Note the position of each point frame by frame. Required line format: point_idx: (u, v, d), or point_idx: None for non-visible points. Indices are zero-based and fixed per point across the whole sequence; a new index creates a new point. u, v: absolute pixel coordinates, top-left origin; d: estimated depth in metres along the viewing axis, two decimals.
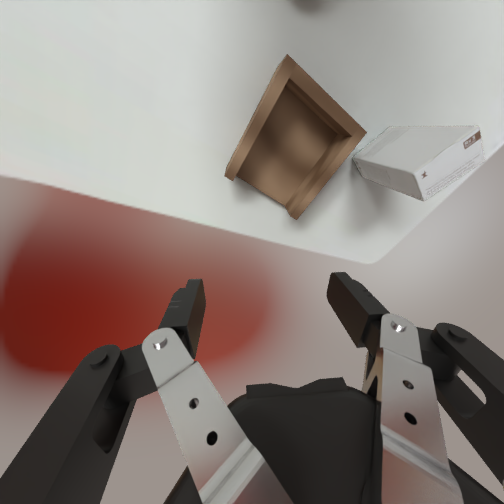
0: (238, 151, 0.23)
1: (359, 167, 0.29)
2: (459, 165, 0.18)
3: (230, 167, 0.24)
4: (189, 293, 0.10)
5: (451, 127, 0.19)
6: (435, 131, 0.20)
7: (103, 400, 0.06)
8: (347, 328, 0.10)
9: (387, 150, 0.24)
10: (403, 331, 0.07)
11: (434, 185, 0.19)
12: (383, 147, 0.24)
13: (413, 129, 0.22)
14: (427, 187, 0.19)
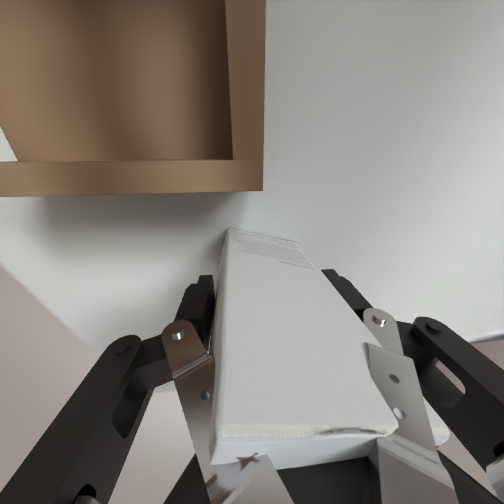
0: None
1: (222, 251, 0.14)
2: None
3: None
4: (201, 288, 0.10)
5: None
6: (348, 320, 0.08)
7: (123, 388, 0.06)
8: None
9: (264, 265, 0.10)
10: (383, 324, 0.08)
11: None
12: (267, 256, 0.11)
13: (319, 276, 0.10)
14: None
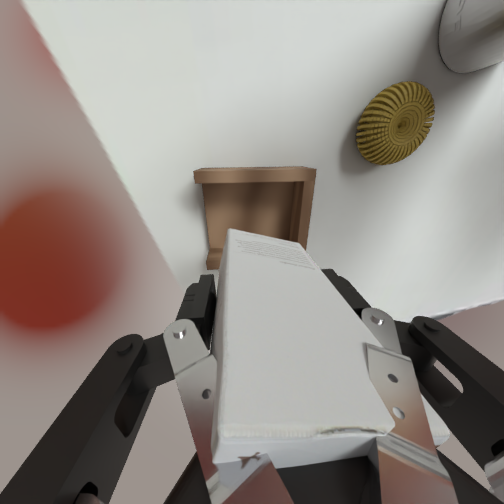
0: (226, 172, 0.20)
1: (223, 252, 0.14)
2: None
3: (206, 172, 0.20)
4: (203, 287, 0.10)
5: None
6: (349, 320, 0.08)
7: (125, 386, 0.06)
8: None
9: (265, 265, 0.10)
10: (381, 324, 0.08)
11: None
12: (267, 256, 0.11)
13: (319, 276, 0.10)
14: None
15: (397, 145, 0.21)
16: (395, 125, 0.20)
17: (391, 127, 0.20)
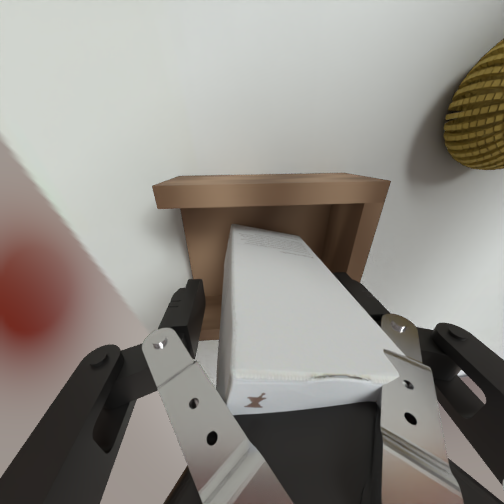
0: (217, 187, 0.10)
1: (227, 246, 0.15)
2: None
3: (178, 188, 0.10)
4: (189, 293, 0.10)
5: (370, 320, 0.07)
6: (343, 299, 0.08)
7: (103, 400, 0.06)
8: None
9: (266, 255, 0.11)
10: (403, 331, 0.07)
11: None
12: (269, 247, 0.12)
13: (317, 264, 0.11)
14: None
15: None
16: None
17: None
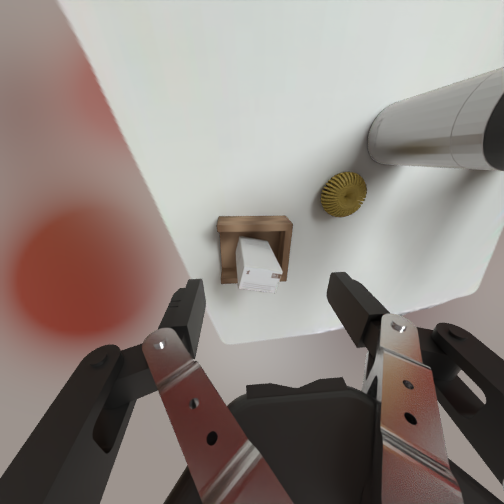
0: (237, 225, 0.32)
1: (237, 244, 0.37)
2: (264, 283, 0.28)
3: (224, 226, 0.32)
4: (189, 293, 0.10)
5: (277, 263, 0.30)
6: (272, 259, 0.30)
7: (103, 400, 0.06)
8: (347, 328, 0.10)
9: (252, 247, 0.33)
10: (403, 331, 0.07)
11: (248, 283, 0.28)
12: (253, 245, 0.34)
13: (270, 251, 0.33)
14: (244, 281, 0.28)
15: (344, 208, 0.34)
16: (342, 197, 0.33)
17: (340, 198, 0.33)
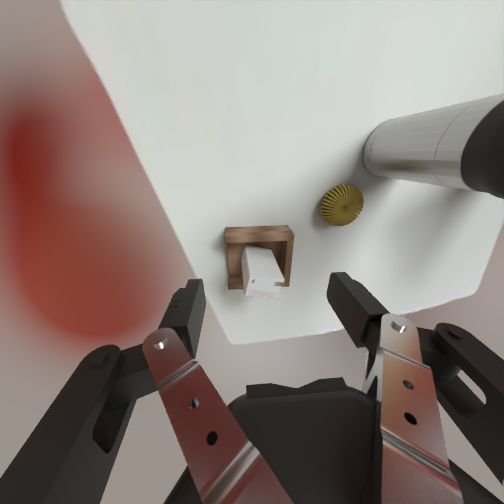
0: (242, 237, 0.35)
1: (243, 253, 0.40)
2: (268, 291, 0.31)
3: (231, 237, 0.35)
4: (189, 293, 0.10)
5: (279, 272, 0.32)
6: (275, 268, 0.33)
7: (103, 400, 0.06)
8: (347, 328, 0.10)
9: (257, 256, 0.36)
10: (403, 331, 0.07)
11: (253, 291, 0.31)
12: (257, 254, 0.37)
13: (273, 259, 0.36)
14: (250, 289, 0.30)
15: (342, 218, 0.36)
16: (340, 208, 0.36)
17: (338, 209, 0.35)
